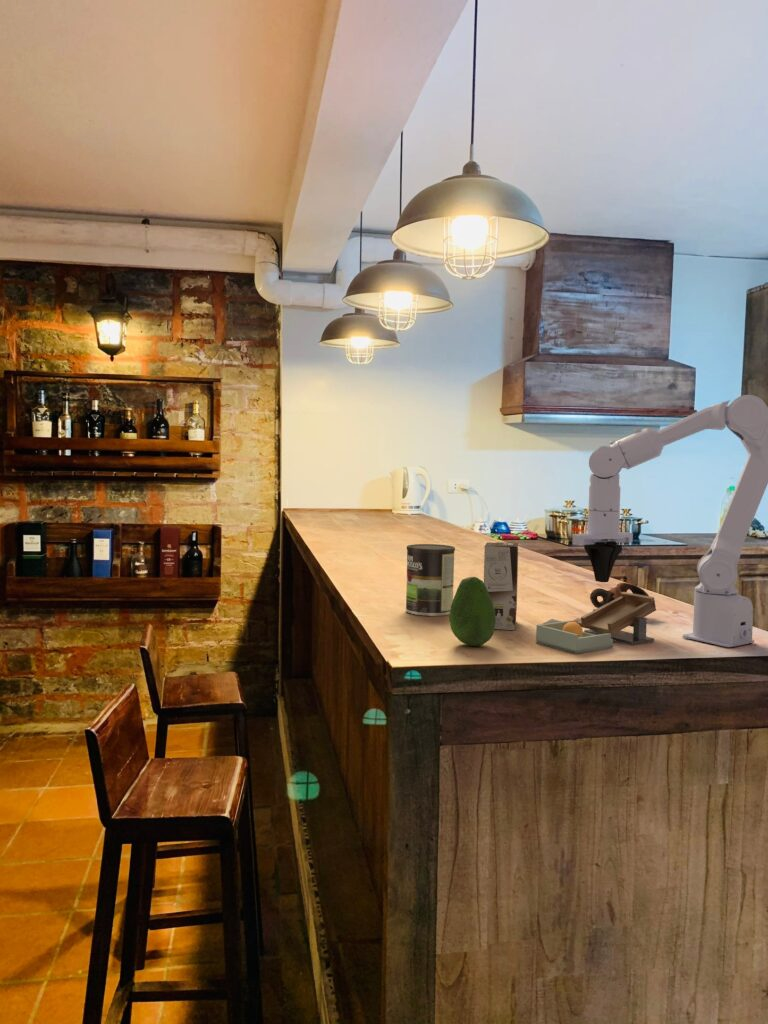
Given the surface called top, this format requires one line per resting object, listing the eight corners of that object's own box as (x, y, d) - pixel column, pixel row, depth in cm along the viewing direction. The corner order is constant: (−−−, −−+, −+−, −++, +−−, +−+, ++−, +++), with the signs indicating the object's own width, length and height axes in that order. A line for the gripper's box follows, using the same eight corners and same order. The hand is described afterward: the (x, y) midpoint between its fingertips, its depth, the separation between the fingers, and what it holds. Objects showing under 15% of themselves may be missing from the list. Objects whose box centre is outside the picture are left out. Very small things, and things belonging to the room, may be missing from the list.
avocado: (465, 638, 135) (466, 572, 134) (503, 645, 130) (504, 576, 129) (439, 646, 129) (440, 576, 128) (478, 653, 124) (480, 581, 123)
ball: (570, 630, 128) (575, 647, 129) (584, 620, 130) (589, 637, 131) (555, 626, 131) (560, 643, 132) (569, 616, 133) (574, 633, 134)
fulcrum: (654, 641, 135) (654, 617, 134) (631, 645, 131) (632, 620, 131) (606, 630, 144) (606, 607, 144) (584, 633, 141) (584, 610, 140)
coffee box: (515, 631, 142) (517, 546, 141) (481, 629, 143) (483, 545, 143) (517, 621, 151) (518, 541, 150) (484, 619, 152) (486, 540, 151)
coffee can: (419, 618, 153) (420, 549, 153) (397, 609, 163) (398, 544, 162) (462, 614, 158) (464, 548, 157) (438, 606, 167) (440, 543, 166)
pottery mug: (631, 614, 164) (648, 584, 160) (641, 642, 156) (659, 611, 152) (579, 600, 163) (595, 570, 159) (587, 627, 155) (603, 596, 151)
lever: (658, 615, 138) (655, 597, 137) (600, 648, 130) (597, 629, 129) (598, 603, 149) (596, 586, 149) (542, 632, 141) (539, 615, 141)
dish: (612, 647, 129) (613, 629, 129) (575, 654, 124) (575, 634, 124) (573, 637, 137) (573, 620, 137) (536, 642, 132) (536, 624, 132)
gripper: (613, 508, 150) (611, 576, 151) (561, 510, 142) (559, 581, 143) (642, 510, 144) (640, 581, 145) (589, 512, 136) (587, 586, 137)
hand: (601, 581), depth 143 cm, fingers closed
